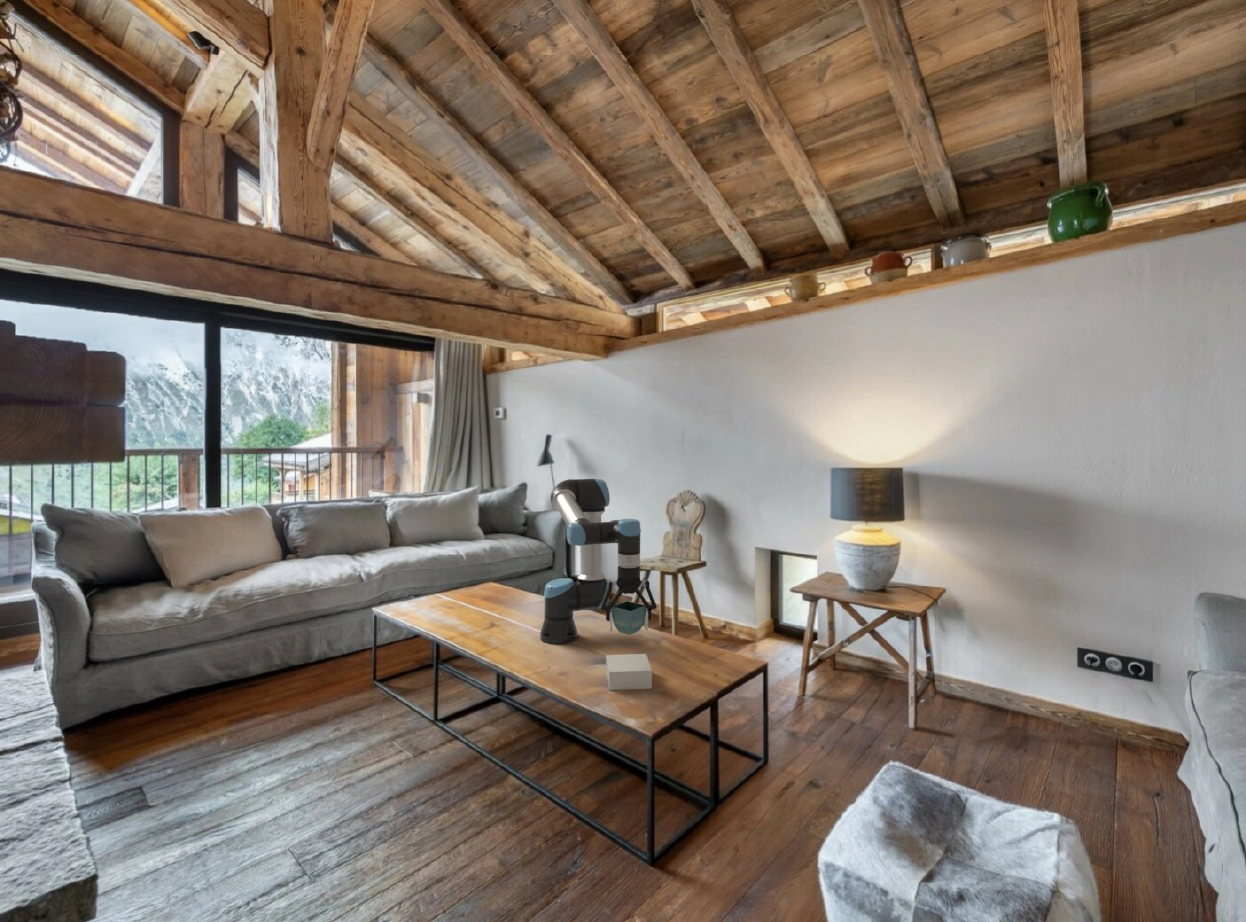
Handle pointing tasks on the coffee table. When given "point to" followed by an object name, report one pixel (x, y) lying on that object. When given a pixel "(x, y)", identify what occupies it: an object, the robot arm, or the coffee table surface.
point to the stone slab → (628, 672)
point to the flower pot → (628, 617)
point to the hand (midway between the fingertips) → (628, 629)
